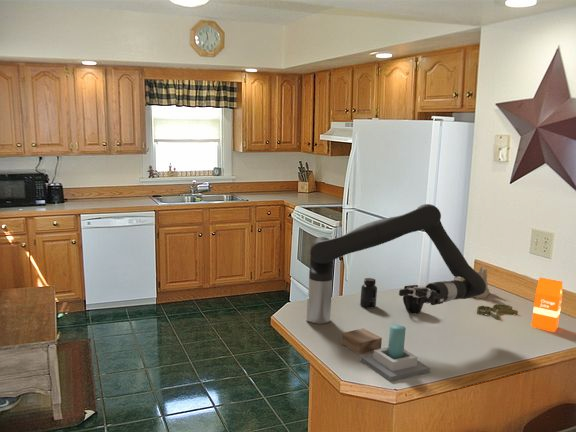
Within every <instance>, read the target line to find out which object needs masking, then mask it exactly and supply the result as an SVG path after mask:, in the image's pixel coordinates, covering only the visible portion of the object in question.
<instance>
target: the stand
mask: <svg viewBox="0 0 576 432" xmlns="http://www.w3.org/2000/svg"><path fill="white" fill-rule="evenodd" d="M382 339H383V338H382V337H381V336H379V335H377V334H375V333H373V332H371V331H370V330H367V329H365V328H359V329H355V330H350V331H345V332H341V340H340V343H341V345H343V346H345V347H347V348H348V349H350V350H352V351H353V352H355V353H357V354H358V355H361V354H366V353H368V352H369V353H370V352H374V350H377V349H382Z"/></svg>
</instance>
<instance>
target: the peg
mask: <svg viewBox="0 0 576 432" xmlns="http://www.w3.org/2000/svg"><path fill="white" fill-rule="evenodd" d="M388 335H389V336H388V346H387V347H388V356H389V357H390V358H392V359H394V360H395V359H399V358H403V354H404V349H405V340H406V327H405V326H404V325H400V324H391V325H389V334H388Z"/></svg>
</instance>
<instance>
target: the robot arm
mask: <svg viewBox="0 0 576 432" xmlns="http://www.w3.org/2000/svg"><path fill="white" fill-rule="evenodd" d="M441 219H442V214H441V211H440V209H439V208H438V207H436V206H435V205H433V204H429V203H428V204H427V203H426V204H425V203H424V204H421V205H420V206H418V207H417V208H416V209H413V210H411V211H409V212H407V213H404V214H401V215H397V216H390V217H385V218H381V219H377V220H373V221H371V222H367V223H365V224H363V225H360V226H358V227H356V228H354V229H352V230H350V231H349V232H347V233H345V234H344V235H340V236H339V237H334V238H331V239H330V238H328V237H325V236H320V237H317V238H315V239H314V240H313V242H312V243H311V245H310V249H309V257H310V258H309V259H310V260H309V272H308V275H309V277H308V292H307V293H308V295H307V303H306V322H310V323H313V324H322V325H323V324H328V323H329V322H330V321H331V311H332V310H331V308H332V307H331V306H332V296H333V295H332V293H333V277H334V276H333V274H334V260H336V259H337V260H338V258H341V257H344V256H346V255H348V254H351V253H355V252H360V251H363V250H367V249H371V248H374V247H377V246H379V245H383V244H385V243H388V242H391V241H393V240H395V239H398V238H401V237H403V236H405V235H407V234H412V233H414V232H415V233H416V232H419V231H424V232H425V233H426V235H427V236H428V237H429V238H430V240H431V241H432V243H433V244H434V246H435V248H436V249H437V251H438V253H439V254H440V256H441V258H442V260H443V262H444V263H445V265H446V266H447V268H448V270H449V272H450V273H451V274H452V276H453V277H463V278H464V279H465V280H462V281H459V280H454V279H453V280H447V281H446V280H442V281H441V280H440V281H434V282H429V283H427V284H426V286H420V287H419V285H418V284H413V285H411V284H410V285H404V288H402V289H399V291H398V296H399V297H403V296H405V295H412V296H413V297H417V301H416V303H417V304H422V303H424V304H426V305H427V304H430V305H431V306H436V305H441V304H444V303H448V302H451V301H455V300H466V299H471V298H472V297H474V296H478V295H481V294H483V293H484V292H485V290H486V284H485V282H484V280H483V278H482V277H481V276H480V275H479V274H478V273H477V272H478V271H477V270H475V269H474V268H473V267H471V266H470V265H469V263H468V261H467V260H466V259H465V257H464V254H463V253H462V252H461V250H460V249H459V248H458V247H457V245H456V244H455V242H454V241H453V240H452V238H450V236H449V234H448V233H447V231H446V230H445V227H444V226H443V223H442V222H441ZM476 271H477V272H476ZM416 292H417V295H415V293H416Z"/></svg>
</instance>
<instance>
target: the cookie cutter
mask: <svg viewBox="0 0 576 432" xmlns="http://www.w3.org/2000/svg"><path fill="white" fill-rule="evenodd" d="M494 308H495V309H496V311H495V313H493V312H494ZM480 309H481V310H480ZM483 309H484V310H483ZM501 313H502V314H505V315H506V313H507V315H508V314H509V315H513V314H515V316H517V315H518V313H519V311H518V310H516V309H513V306H510V305H507V304H501V303H499V304H495V303H494V305H493V306H492V307H490V306H488V305H487V306H485V305H479V306H477V309H476V315H481V314H482V315H481V316H485V314H489V316H490V315H491V316H490V317H491V318H493V319H495V320H500V319H501V315H500V314H501Z"/></svg>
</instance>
